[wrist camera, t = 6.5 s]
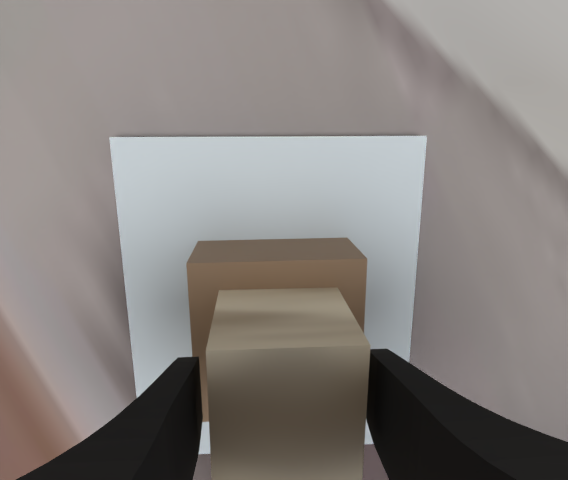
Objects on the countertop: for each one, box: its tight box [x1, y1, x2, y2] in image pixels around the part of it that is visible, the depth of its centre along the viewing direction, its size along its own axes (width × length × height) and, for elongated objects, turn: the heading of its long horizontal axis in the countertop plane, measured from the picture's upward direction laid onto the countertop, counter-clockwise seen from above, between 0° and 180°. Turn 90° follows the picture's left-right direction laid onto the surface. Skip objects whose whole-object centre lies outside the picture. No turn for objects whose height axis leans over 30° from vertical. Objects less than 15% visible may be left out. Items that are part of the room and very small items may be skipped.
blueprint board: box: [109, 136, 427, 454], centre depth 16 cm, size 14×12×4 cm
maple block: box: [206, 288, 371, 480], centre depth 12 cm, size 4×4×4 cm
